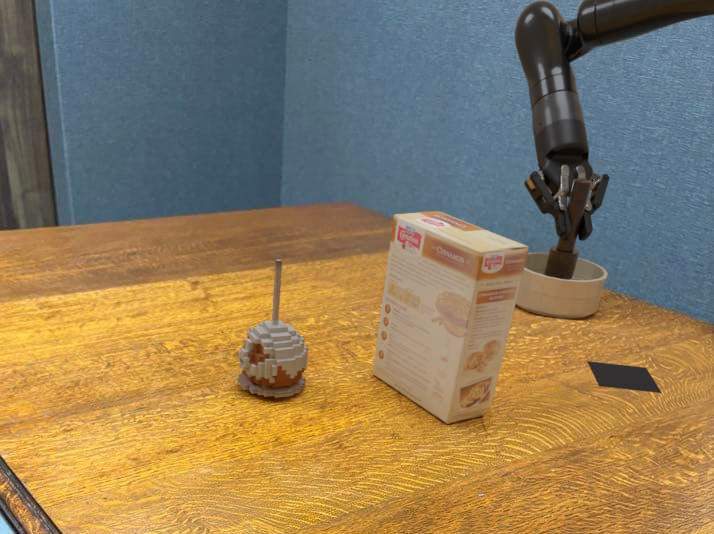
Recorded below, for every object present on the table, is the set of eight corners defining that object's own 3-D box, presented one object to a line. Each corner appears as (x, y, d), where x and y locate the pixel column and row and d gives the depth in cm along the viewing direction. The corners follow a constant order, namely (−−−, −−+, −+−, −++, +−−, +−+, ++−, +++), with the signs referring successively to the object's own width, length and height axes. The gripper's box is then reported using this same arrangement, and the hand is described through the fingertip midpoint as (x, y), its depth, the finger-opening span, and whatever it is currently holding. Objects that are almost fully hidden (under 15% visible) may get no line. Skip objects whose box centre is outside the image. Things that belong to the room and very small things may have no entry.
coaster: (645, 370, 110) (646, 367, 110) (660, 396, 104) (661, 392, 104) (586, 364, 111) (587, 361, 110) (598, 389, 104) (599, 385, 104)
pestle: (569, 272, 129) (594, 178, 121) (574, 281, 126) (600, 185, 118) (542, 269, 129) (565, 175, 121) (546, 278, 126) (570, 182, 118)
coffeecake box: (492, 414, 96) (532, 245, 84) (446, 426, 92) (481, 251, 81) (414, 365, 106) (440, 208, 94) (369, 374, 102) (391, 212, 91)
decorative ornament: (229, 376, 98) (232, 251, 90) (288, 370, 101) (297, 247, 93) (252, 405, 93) (258, 273, 84) (314, 397, 96) (326, 269, 87)
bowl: (587, 294, 136) (597, 257, 132) (605, 324, 124) (616, 285, 121) (502, 284, 136) (510, 248, 133) (512, 314, 125) (521, 275, 121)
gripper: (529, 114, 119) (546, 223, 117) (613, 119, 123) (631, 225, 120) (506, 146, 127) (521, 249, 124) (586, 149, 130) (602, 251, 127)
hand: (575, 237), depth 122 cm, fingers closed on pestle, 2 cm apart
